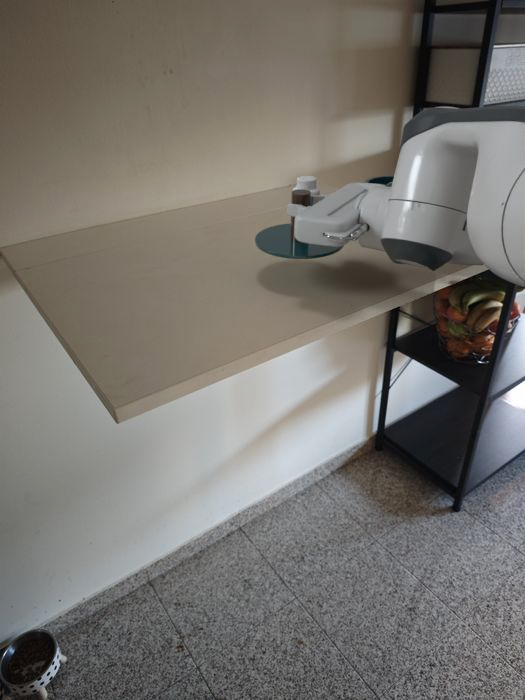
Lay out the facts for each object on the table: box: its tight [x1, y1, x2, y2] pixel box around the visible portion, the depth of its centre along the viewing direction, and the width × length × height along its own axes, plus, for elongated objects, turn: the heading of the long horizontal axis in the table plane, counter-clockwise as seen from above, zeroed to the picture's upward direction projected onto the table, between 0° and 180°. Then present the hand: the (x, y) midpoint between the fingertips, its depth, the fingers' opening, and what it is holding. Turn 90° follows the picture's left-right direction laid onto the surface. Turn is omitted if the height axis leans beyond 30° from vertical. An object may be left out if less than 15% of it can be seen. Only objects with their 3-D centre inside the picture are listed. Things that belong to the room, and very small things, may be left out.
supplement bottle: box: [292, 175, 321, 196], centre depth 103 cm, size 6×6×10 cm
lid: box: [254, 189, 345, 260], centre depth 79 cm, size 15×15×9 cm
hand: (295, 204), depth 78 cm, fingers closed on lid, 3 cm apart
